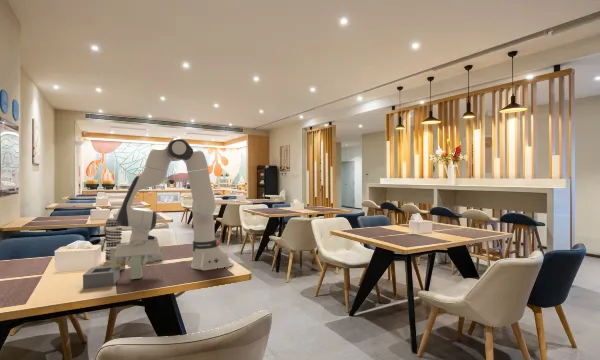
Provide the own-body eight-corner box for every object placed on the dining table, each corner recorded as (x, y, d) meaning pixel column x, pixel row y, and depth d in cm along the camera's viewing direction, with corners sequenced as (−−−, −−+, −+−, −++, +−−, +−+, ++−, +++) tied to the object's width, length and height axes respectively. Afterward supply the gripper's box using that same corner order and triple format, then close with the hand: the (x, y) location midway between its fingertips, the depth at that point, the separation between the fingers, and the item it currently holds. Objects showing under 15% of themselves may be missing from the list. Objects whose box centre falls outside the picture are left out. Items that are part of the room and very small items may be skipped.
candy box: (161, 259, 193) (160, 245, 193) (162, 260, 192) (162, 246, 192) (132, 265, 182) (131, 250, 182) (133, 265, 180) (133, 251, 180)
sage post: (142, 275, 160) (142, 255, 160) (140, 278, 156) (140, 257, 156) (132, 276, 159) (132, 256, 158) (130, 279, 154) (130, 258, 154)
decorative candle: (120, 257, 199) (119, 217, 198) (124, 260, 192) (123, 218, 192) (103, 260, 193) (102, 218, 192) (106, 263, 186) (106, 219, 185)
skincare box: (117, 271, 169) (116, 248, 169) (109, 271, 170) (109, 248, 170) (126, 268, 175) (125, 245, 175) (119, 267, 176) (118, 245, 176)
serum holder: (119, 277, 158) (119, 265, 158) (113, 285, 147) (113, 272, 147) (91, 280, 155) (91, 267, 155) (83, 288, 143) (82, 275, 143)
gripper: (115, 239, 160) (110, 264, 151) (160, 236, 167) (158, 260, 157) (117, 246, 165) (113, 271, 155) (161, 243, 171) (159, 266, 162)
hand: (136, 265), depth 156 cm, fingers closed on sage post, 4 cm apart
